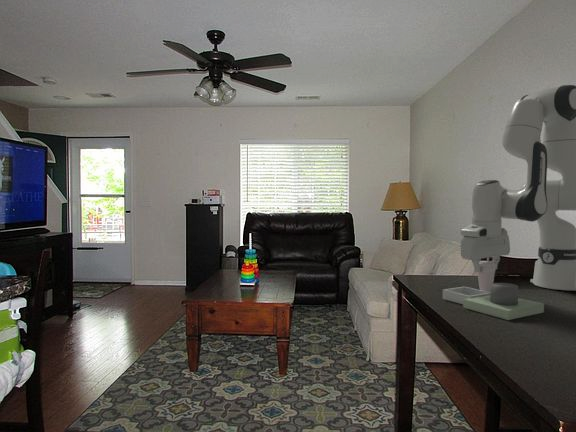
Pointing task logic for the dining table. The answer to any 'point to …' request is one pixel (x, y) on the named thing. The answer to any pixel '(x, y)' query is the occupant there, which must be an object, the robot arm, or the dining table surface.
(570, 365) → the dining table surface
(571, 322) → the dining table surface
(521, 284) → the dining table surface
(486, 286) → the smoothie
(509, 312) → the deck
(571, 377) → the dining table surface
